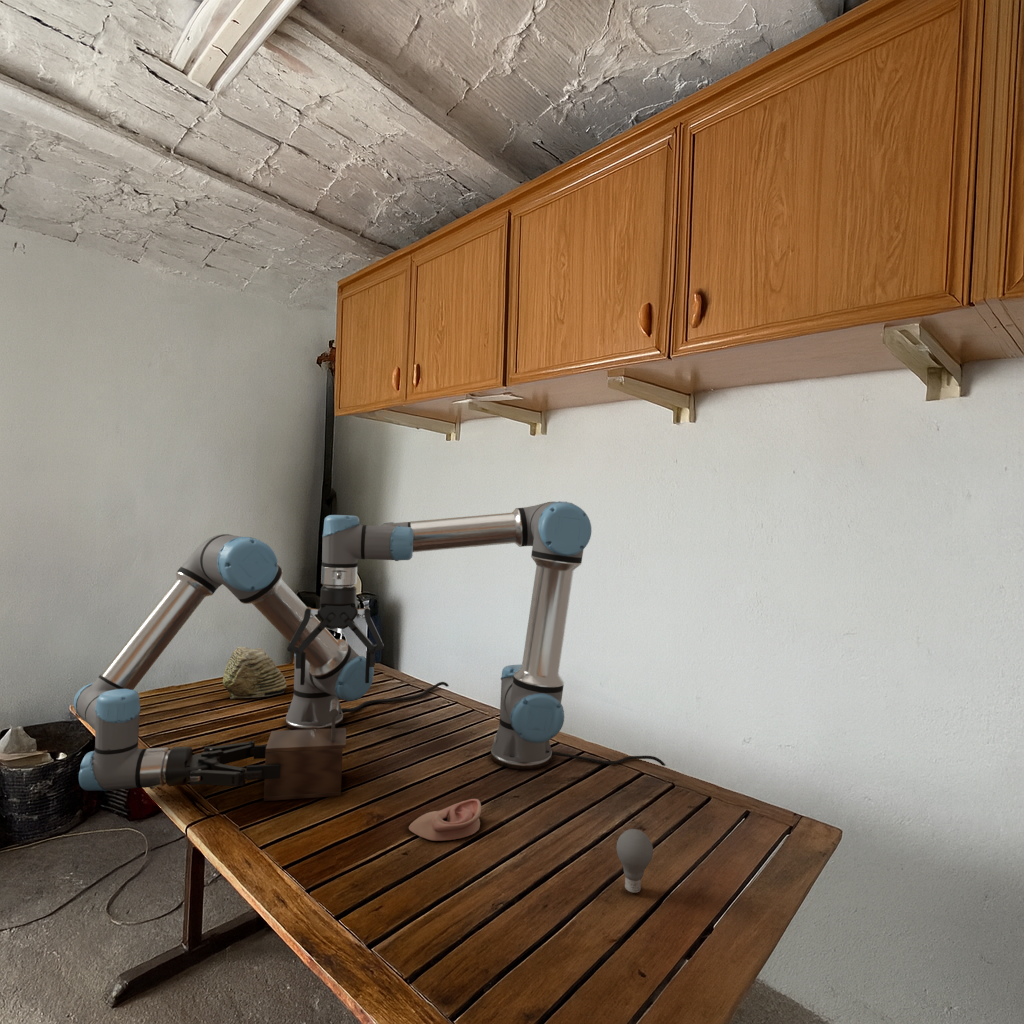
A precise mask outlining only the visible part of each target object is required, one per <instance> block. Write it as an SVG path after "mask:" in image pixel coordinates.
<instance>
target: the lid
mask: <svg viewBox="0 0 1024 1024" xmlns="http://www.w3.org/2000/svg"><path fill="white" fill-rule="evenodd" d="M339 702H340V700H339V701H338V700H337V699H333V700H331V702H330V710H329V715H330V716H331V717H332V729H308V730H292V729H286V730H271V732H270V734H269V737H268V741H267V744H266V745H267V746H266V752H284V751H304V750H323V749H343V750H344V749H347V748H346V747H347V728H346V727H335V719H336V716H337V715H338V712H339Z"/></svg>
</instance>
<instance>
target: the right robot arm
mask: <svg viewBox="0 0 1024 1024" xmlns="http://www.w3.org/2000/svg"><path fill="white" fill-rule="evenodd" d="M323 520H324V521H323V530H322V535H321V536H322V537H321V538H322V546H321V547H322V549H321V551H322V552H321V560H322V561H321V572H320V573H321V575H320V576H321V577H320V578H321V579H320V584H321V585H323V586H321V588H320V601H319V607H318V608H312V607H311V606H306V607H307V608H306V609H305V614H304V618H303V620H302V622H301V624H300V626H299V627H298V629H297V631H296V633H295V634H294V636H293V638H292V640H291V642H288V645H287V648H286V650H287V651H288V652H289V653H290V652H292V653H294V655H295V654H296V666H295V665H294V668H295V667H296V669H301V679H300V685H304V683H305V663H306V652H303V651H304V650H305V649H306V647H307V646H308V645H309V644H310V643H311V642H312V641H313V640H314V639H315V638H316V637H317V636H318V634H319V633H320V632H321V631H322V630H323V629H324V628H327V629H329V630H334V629H340V630H345V629H347V628H349V630H350V631H352V632H353V633H354V634H355V636H356V637H357V638H358V639H359V641H360V642H361V643H362V644H363V645H364V647H365V648H366V649H367V650H366V651H365V658H366V671H365V683H369V669H370V667H373V668H374V667H375V666H376V654H377V652H379V651H383V650H384V649H385V645H384V643H383V640H382V638H381V636H380V633H379V632H378V629H377V627H376V626H375V625H376V624H375V623H374V621H373V619H372V617H371V608H370V607H369V606H365V607H363V608H357V587H356V586H355V585H357V584H358V560H376V561H377V560H379V561H395V562H399V561H410V560H411V559H412V558H413V556H414V555H413V554H414V553H420V552H421V553H422V552H430V551H431V552H432V551H443V550H455V549H465V548H478V547H488V546H497V545H498V546H499V545H509V544H510V545H511V544H514V545H516V546H518V547H520V548H521V547H531V555H530V557H531V559H532V561H534V563H535V574H534V578H533V579H534V581H533V587H532V594H531V600H530V607H529V614H528V622H527V628H526V636H525V640H524V641H525V642H524V648H523V655H522V663H521V664H510V665H506V666H504V667H503V668H502V670H501V676H500V680H501V682H500V705H499V725H498V728H497V731H496V734H495V735H494V737H493V742H492V745H491V747H490V758H491V760H492V761H493V762H494V763H496V764H497V765H499V766H501V767H505V768H508V769H513V770H526V771H527V770H537V769H540V768H543V767H546V766H547V765H549V764H550V763H551V762H552V759H553V757H552V756H556V757H557V756H558V757H563V758H570V759H576V760H580V761H581V760H582V761H587V762H590V763H595V764H601V765H608V766H609V765H610V766H611V765H619V764H621V763H625V762H626V761H630V760H631V761H632V760H653V761H655V762H657V763H659V764H660V765H661V766H663V767H665V766H667V765H666V763H665V762H664V761H663V760H662V759H660V758H659V757H656V756H653V755H629V756H625V757H623V758H621V759H617V760H602V759H601V760H600V759H596V758H592V757H587V756H581V755H575V754H571V753H564V752H558V751H552V746H551V742H550V741H551V740H552V739H553V738H555V737H556V736H557V735H558V734H559V733H560V732H561V730H562V729H563V726H564V722H565V710H564V707H563V704H562V700H563V692H564V686H565V681H564V679H563V678H562V677H561V675H560V666H561V659H562V653H563V645H564V639H565V633H566V626H567V619H568V613H569V605H570V598H571V592H572V584H573V578H574V571H575V570H576V569H577V568H578V567H580V566H581V565H582V561H583V557H584V556H583V554H584V550H585V548H586V547H587V546H588V544H589V543H590V540H591V537H592V523H591V520H590V517H589V516H588V514H587V513H586V511H585V510H584V509H582V508H581V507H580V506H578V505H577V504H574V503H572V502H568V501H560V500H559V501H547V502H542V503H539V504H535V505H529V506H525V507H516V508H515V509H514V510H513V511H512V512H505V513H491V514H482V515H481V514H480V515H471V516H470V515H469V516H460V517H445V518H435V519H425V520H413V521H411V520H410V521H402V522H401V521H399V522H384V523H383V524H381V525H367V524H361V522H360V517H359V516H357V515H348V514H347V515H346V514H329V515H327V516H326V517H324V519H323ZM316 615H317V616H318V618H319V619H320V623H319V624H318V626H317V627H316V628H315V629H314V630H313V631H312V632H311V633H310V634H309V635H308V636H307V638H306V639H305V640H304V641H303V642H302V643H301V644H300V645H299V646H296V643H297V642H298V640H299V638H300V636H301V634H302V633H303V631H304V629H305V627H306V625H307V624H308V622H309V619H312V618H313V617H314V616H316ZM358 615H360V618H362V619H364V620H365V623H366V625H367V627H368V629H369V631H370V633H371V635H372V639H373V640H374V643H375V644H374V643H373V642H372V641H371V640H370V638H368V636H367V635H366V634H365V633H364V632H363V630H362V629H361V628H360V627H359V626H358V625H357V623H356V622H355V619H356V617H357V616H358Z"/></svg>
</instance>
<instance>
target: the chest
mask: <svg viewBox="0 0 1024 1024" xmlns="http://www.w3.org/2000/svg"><path fill="white" fill-rule="evenodd" d="M343 750H344V748H343V749H323V750H304V751H284V752H266V754H265V758H264V765H269V764H281V766H280V778H275V779H263V780H264V784H263V802H271V801H287V800H300V799H315V798H329V797H340V796H341V795H342V776H343V754H344V753H343V752H344V751H343Z"/></svg>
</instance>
